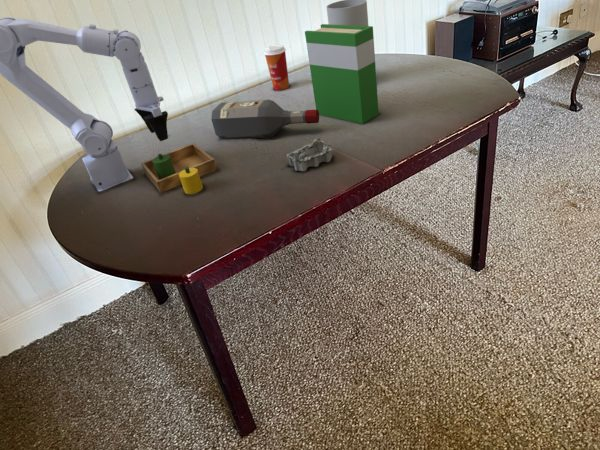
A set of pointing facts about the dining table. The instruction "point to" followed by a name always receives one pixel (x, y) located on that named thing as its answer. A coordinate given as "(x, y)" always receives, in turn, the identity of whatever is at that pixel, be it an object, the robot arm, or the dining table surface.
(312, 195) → the dining table surface
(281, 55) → the paper cup
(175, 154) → the wooden tray
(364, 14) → the cylinder vase
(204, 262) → the dining table surface
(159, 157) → the green pepper
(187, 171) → the yellow pepper
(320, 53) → the hardback book
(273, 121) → the liquor
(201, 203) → the dining table surface
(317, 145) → the egg carton
